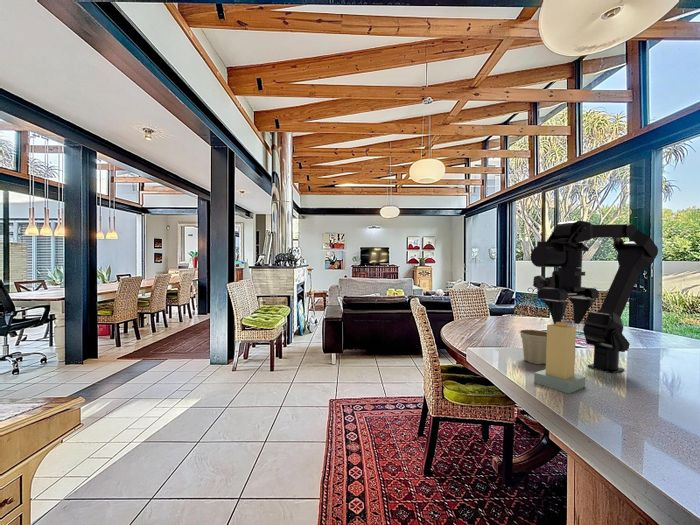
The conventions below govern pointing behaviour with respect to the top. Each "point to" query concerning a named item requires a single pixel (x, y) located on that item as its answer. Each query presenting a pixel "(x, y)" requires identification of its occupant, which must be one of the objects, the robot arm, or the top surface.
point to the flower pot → (534, 345)
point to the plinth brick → (560, 381)
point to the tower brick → (560, 350)
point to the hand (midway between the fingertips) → (567, 324)
